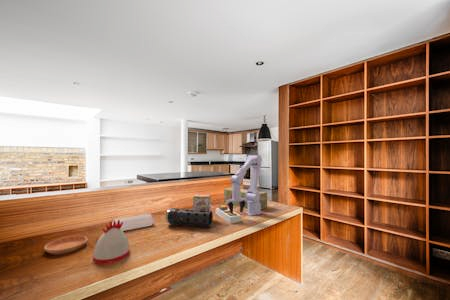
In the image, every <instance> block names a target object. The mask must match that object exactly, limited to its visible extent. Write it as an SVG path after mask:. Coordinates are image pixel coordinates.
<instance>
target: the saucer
mask: <svg viewBox="0 0 450 300" xmlns="http://www.w3.org/2000/svg"><path fill="white" fill-rule="evenodd" d="M88 240H89V239H88V237H87V236H85V235H71V236H66V237H62V238H57V239H55V240H52V241H50V242H48V243H46V244H45V245H44V251H45V252H46V253H48V254H50V255H54V256H55V255H64V254H68V253H73V252H74V251H77V250H80V248H83V247H84V245H85V244H86V243H88Z"/></svg>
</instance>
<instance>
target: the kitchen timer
mask: <svg viewBox="0 0 450 300" xmlns="http://www.w3.org/2000/svg"><path fill="white" fill-rule="evenodd" d="M113 221H114V220H113ZM113 221H110V222H109V225H108V224H106V225H105V227H106V229H104V228H103V227H102V232H103V233H102V234H101V235H100V237H99V238H98V240H97V242H96V244H95V247H94V250H93V256H92V257H93V259H92V261H93V262H94V263H95V264H99V265H104V264H111V263H115V262H119V261H121V260H122V259H125V258H126V257H127V256H128V255H129V254H130V252H131V247H130V243H129V239H128V237H127V234H126V233H125V232H124V231H122V230H120V228H121V226H122V224H123V222H121V224H120V220H118V222H117V225H116V222H115V221H114V223H113ZM112 223H113V226H112Z"/></svg>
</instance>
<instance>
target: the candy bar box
mask: <svg viewBox="0 0 450 300" xmlns="http://www.w3.org/2000/svg"><path fill="white" fill-rule="evenodd" d="M192 199H193V202H192V203H193V205H192V206H193V209H192V210H201V211H211V195H209V194H208V195H207V194H194V195H193V198H192Z"/></svg>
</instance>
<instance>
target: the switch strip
mask: <svg viewBox="0 0 450 300" xmlns="http://www.w3.org/2000/svg"><path fill="white" fill-rule="evenodd" d="M228 209H229V207H227V210H228ZM229 210H230V209H229ZM233 212H234V213H235V214H237V215H234V216H230V215H228V213H225V212H223V210H222V211H221V210H220V209H219V207H216V208H215V214H216V215H217V216H219V217H220V218H222V219H223V220H225V222H227V223H229V224H236V223H241V221H242V215H241V214H239V213H237V212H235V211H233Z"/></svg>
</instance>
